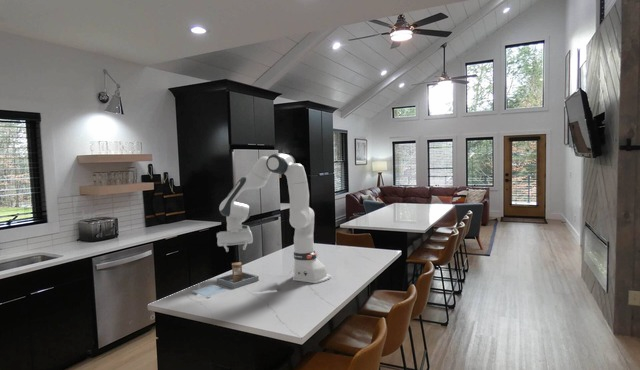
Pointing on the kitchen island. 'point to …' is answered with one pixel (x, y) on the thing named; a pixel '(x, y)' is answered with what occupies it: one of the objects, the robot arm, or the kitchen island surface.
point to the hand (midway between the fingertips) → (235, 250)
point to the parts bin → (246, 280)
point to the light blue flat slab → (209, 290)
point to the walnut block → (237, 272)
